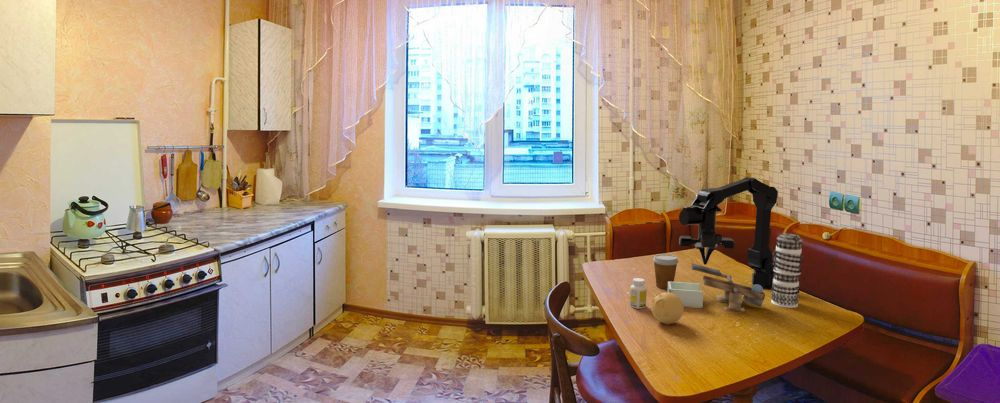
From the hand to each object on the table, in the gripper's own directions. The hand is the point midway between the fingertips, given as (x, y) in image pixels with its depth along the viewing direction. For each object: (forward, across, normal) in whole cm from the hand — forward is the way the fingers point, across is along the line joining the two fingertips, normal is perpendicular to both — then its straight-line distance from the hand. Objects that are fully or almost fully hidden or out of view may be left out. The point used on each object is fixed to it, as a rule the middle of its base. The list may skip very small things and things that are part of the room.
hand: (704, 264), depth 188 cm
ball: (+4, +16, -12) cm, 20 cm away
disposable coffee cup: (+12, -14, +5) cm, 19 cm away
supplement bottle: (+12, -24, -20) cm, 33 cm away
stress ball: (+11, -15, -33) cm, 38 cm away
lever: (+7, +6, -8) cm, 12 cm away
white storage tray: (+11, -8, -12) cm, 18 cm away
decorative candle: (+11, +26, -5) cm, 29 cm away
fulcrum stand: (+11, +8, -10) cm, 17 cm away
